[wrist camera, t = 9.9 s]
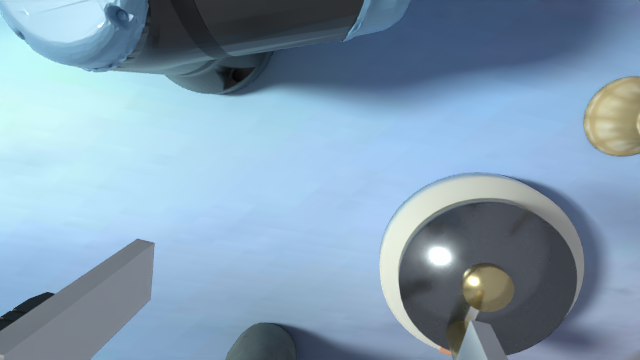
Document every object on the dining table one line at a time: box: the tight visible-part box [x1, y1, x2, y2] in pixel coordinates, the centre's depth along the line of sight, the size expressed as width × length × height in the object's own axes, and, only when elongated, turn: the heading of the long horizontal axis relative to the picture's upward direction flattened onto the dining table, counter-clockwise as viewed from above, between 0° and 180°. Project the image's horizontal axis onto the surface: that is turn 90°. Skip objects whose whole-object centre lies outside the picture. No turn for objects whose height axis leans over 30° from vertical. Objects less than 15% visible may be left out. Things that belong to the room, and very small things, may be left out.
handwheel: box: [398, 198, 577, 360], centre depth 36 cm, size 18×18×12 cm
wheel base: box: [379, 173, 584, 356], centre depth 43 cm, size 22×22×4 cm
